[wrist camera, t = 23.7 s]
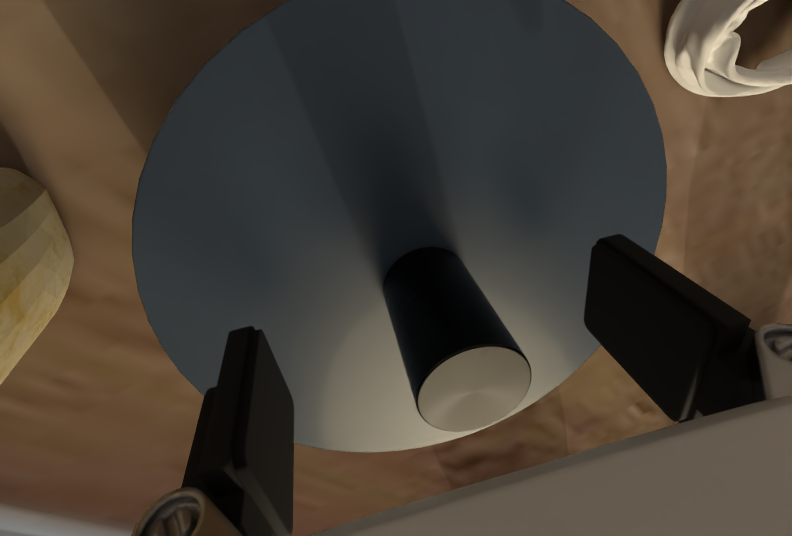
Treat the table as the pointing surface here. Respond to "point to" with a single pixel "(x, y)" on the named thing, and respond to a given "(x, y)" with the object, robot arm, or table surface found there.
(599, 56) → the pot lid
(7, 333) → the food model
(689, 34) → the whipped cream
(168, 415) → the table surface
